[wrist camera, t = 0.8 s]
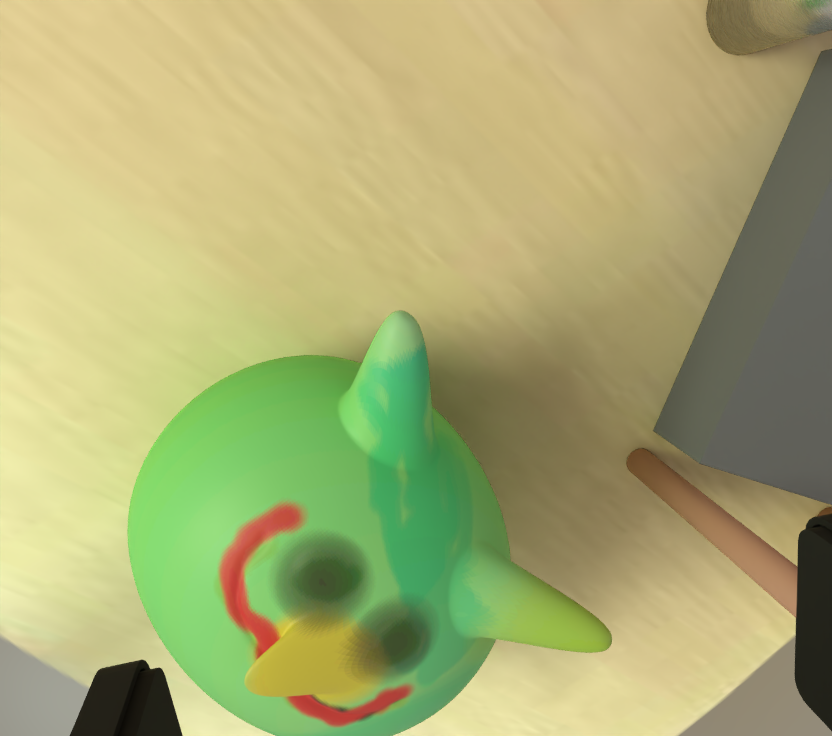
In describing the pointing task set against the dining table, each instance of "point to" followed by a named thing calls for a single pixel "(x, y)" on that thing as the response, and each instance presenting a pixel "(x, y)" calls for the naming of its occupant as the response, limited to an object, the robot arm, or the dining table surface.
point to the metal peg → (765, 22)
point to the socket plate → (771, 325)
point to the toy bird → (333, 547)
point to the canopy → (721, 528)
